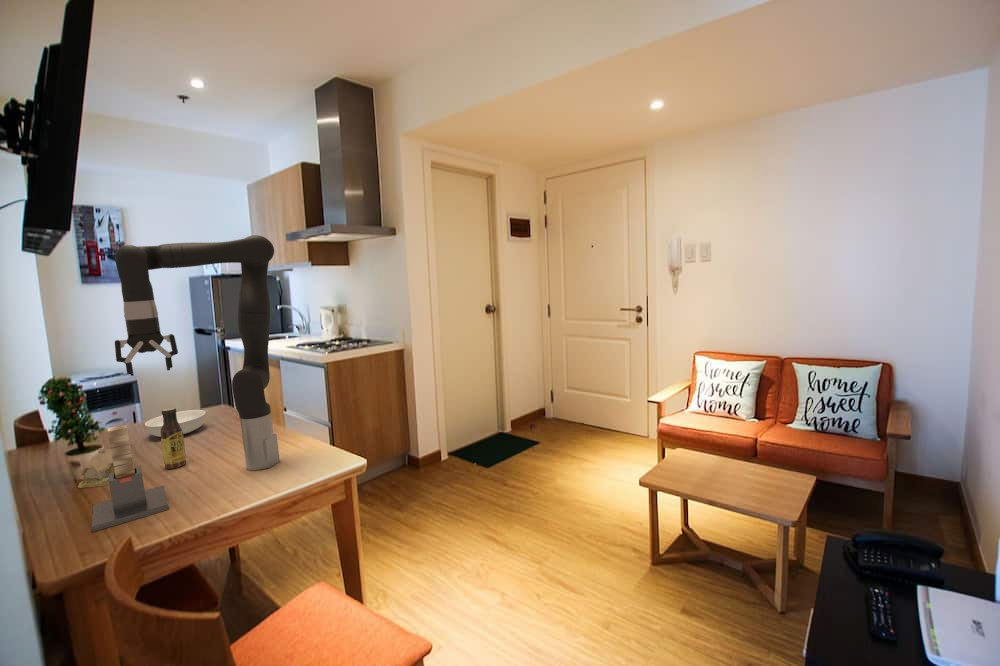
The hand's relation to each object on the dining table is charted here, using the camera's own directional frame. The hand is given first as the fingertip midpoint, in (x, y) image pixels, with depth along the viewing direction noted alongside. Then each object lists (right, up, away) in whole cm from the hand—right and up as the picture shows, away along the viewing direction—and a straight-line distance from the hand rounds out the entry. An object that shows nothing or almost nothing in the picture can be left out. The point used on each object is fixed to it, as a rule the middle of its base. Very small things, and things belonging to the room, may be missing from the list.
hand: (150, 372), depth 136 cm
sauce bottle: (-9, -34, +24) cm, 43 cm away
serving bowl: (-33, -30, +60) cm, 74 cm away
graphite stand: (-1, -37, -6) cm, 38 cm away
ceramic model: (-27, -36, +17) cm, 48 cm away
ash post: (-1, -30, -7) cm, 31 cm away
